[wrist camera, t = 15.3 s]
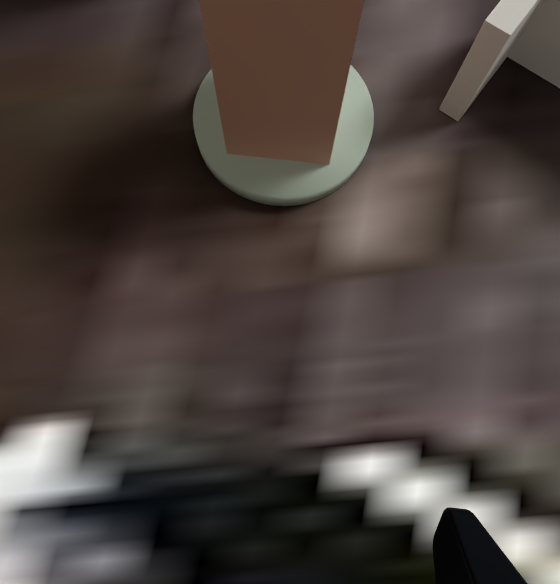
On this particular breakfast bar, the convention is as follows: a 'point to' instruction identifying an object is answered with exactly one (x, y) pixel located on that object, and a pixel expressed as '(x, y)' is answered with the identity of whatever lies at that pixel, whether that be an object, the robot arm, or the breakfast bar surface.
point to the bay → (508, 49)
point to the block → (280, 73)
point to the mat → (285, 173)
